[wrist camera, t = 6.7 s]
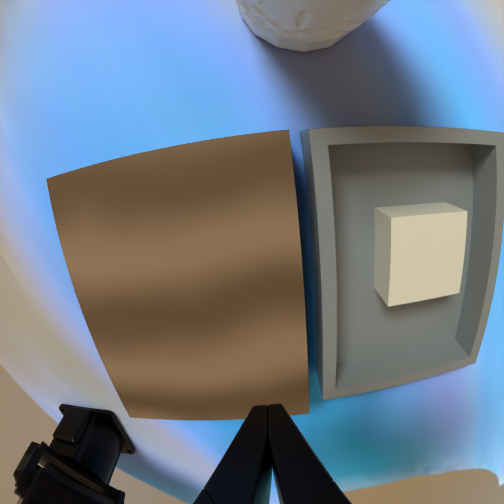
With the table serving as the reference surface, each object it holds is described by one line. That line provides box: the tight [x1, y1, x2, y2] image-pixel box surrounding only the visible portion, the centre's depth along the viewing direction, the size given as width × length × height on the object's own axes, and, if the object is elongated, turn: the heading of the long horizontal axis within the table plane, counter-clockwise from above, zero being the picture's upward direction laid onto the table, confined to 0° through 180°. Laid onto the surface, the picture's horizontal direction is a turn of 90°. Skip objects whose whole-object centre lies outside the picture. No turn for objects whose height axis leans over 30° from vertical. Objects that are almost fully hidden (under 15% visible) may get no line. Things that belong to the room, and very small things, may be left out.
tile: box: [374, 202, 467, 307], centre depth 16 cm, size 5×5×2 cm
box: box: [300, 126, 504, 400], centre depth 17 cm, size 16×12×3 cm
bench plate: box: [47, 130, 309, 420], centre depth 17 cm, size 16×12×4 cm
